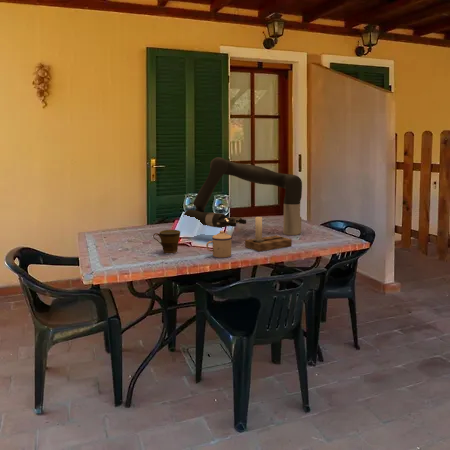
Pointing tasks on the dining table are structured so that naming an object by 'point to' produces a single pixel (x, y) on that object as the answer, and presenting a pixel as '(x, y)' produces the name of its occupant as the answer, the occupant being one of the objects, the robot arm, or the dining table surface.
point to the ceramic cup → (169, 240)
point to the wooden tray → (269, 243)
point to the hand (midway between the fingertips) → (240, 223)
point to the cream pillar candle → (258, 229)
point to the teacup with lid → (221, 245)
